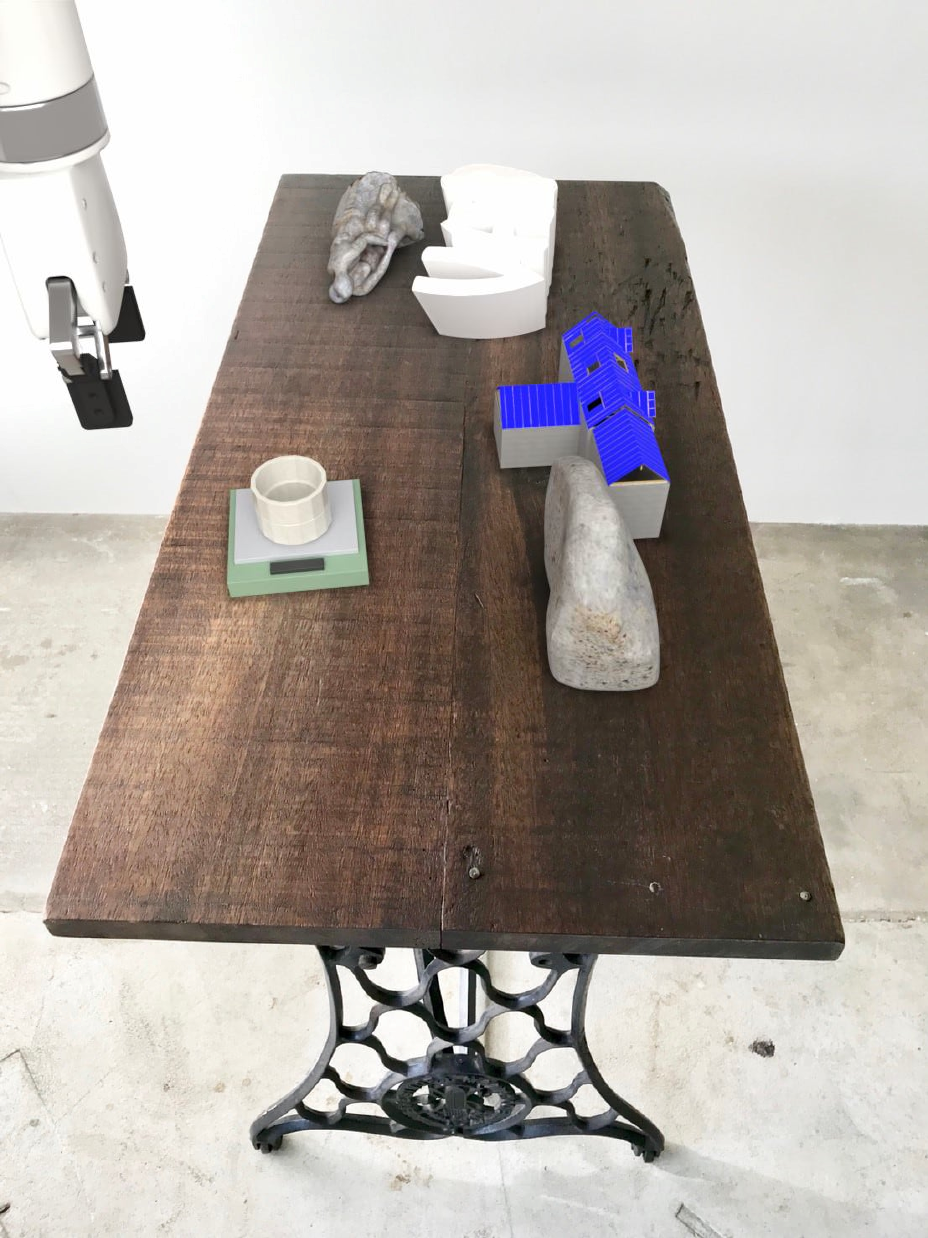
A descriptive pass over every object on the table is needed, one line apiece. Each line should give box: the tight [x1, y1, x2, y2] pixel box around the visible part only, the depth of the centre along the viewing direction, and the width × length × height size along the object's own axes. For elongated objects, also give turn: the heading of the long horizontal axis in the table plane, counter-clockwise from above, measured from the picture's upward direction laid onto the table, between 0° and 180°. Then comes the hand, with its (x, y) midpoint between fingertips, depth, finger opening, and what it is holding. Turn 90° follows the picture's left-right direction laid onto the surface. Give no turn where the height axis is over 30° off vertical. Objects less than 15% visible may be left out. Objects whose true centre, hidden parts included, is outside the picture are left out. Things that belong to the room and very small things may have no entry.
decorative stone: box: [543, 456, 661, 692], centre depth 82 cm, size 17×20×10 cm
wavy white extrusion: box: [411, 163, 559, 340], centre depth 123 cm, size 35×16×10 cm, turn 170°
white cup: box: [250, 454, 332, 545], centre depth 91 cm, size 7×7×6 cm
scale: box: [226, 478, 370, 598], centre depth 94 cm, size 13×13×3 cm
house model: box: [493, 310, 671, 540], centre depth 100 cm, size 25×15×10 cm, turn 5°
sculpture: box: [326, 170, 426, 304], centre depth 125 cm, size 11×18×12 cm
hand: (116, 381), depth 65 cm, fingers open, 9 cm apart
